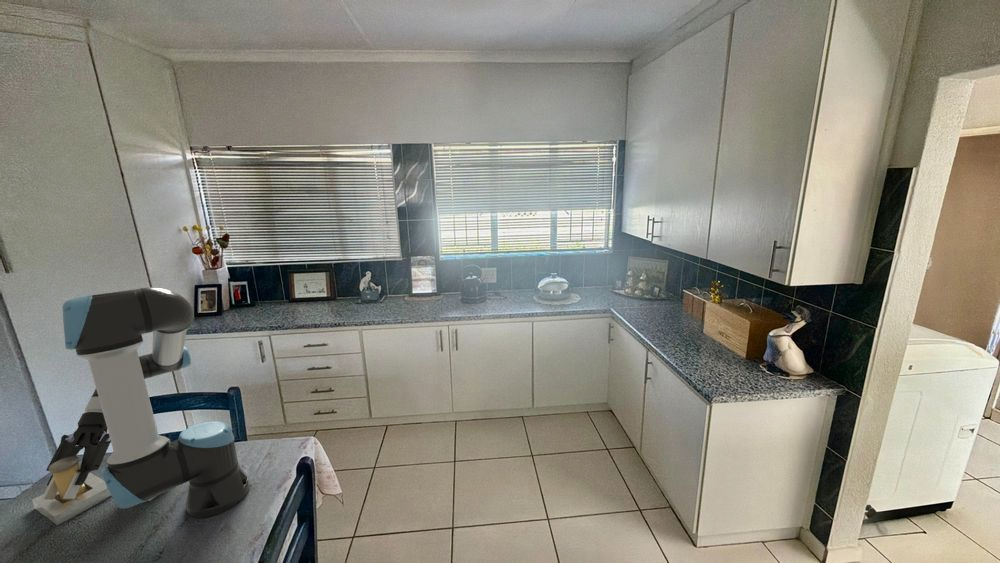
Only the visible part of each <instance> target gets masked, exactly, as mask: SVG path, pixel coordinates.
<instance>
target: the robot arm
mask: <svg viewBox="0 0 1000 563" xmlns="http://www.w3.org/2000/svg"><path fill="white" fill-rule="evenodd" d="M61 308H62V309H61V310H62V320H63V333H64V347H65V350H71V351H72V350H75V352H76V356H78V357H79V358H82V359H85V360H87V361H88V364H89V367H90V370H91V374H92V378H93V382H94V385H95V388H94V391H93V393H92V395H91V397H90V399H89V401H88V403H87V405H85V407H84V413H82V414H81V416H80V418H79V420H78V422H77V426H78V427H77V428H76V430H75V431H74V432H73V433H71V434H68V435H67V434H63V435H62V436H61V437H60V443H59V445H58V447H57V449H56V451H55V453H54V455H53V456H52V458H51V460H50V462H49V463H48V466H47V467H46V471H47V472H49V469H48V468H49V466H50V465H52V464H53V463H55V462H57V461H59V460H61V459H64V458H67V457H72V456H77V455H78V454H79V452H80V451H81V450H83V451H84V452H83V455H82V459H81V462H80V466H79V467H80V470H77V472H80V473H75V475H74V477H73V479H72V481H71V483H70V485H69V487H68V489H67V491H66V493H65V495H64V497H63V499H75V497H76V495H77V493H78V490H79V488H80V486H81V485H83V484H84V482H85V480H86V478H87V476H88V474H89V473H92V472H93V471H97V470H99V469H100V467H101V465H102V462H103V460H104V458H105V456H106V453H107V451H108V449H109V446H110V444H111V446H112V450H113V451H112V453H111V454H110V455H109V456H108V457H107V459H106V463H107V466H104V468H102V469H101V471H100V472H101V473H100V474H101V476H102V480H104V481H105V483H106V485H107V488H108V490H109V492H110V494H111V496H110V497H111V498H112V500H113V502H114V503H115V505H116V506H117V507H118V508H120V509H123V510H124V509H131V508H132V507H134V506H136V505H139V504H142V503H146V502H148V501H147V500H149V499H151V498H153V497H155V496H156V497H158V496H159V495H161V494H163V493H164V494H165V493H166V492H168V491H170V490H173V489H175V488H177V487H179V486H180V485H183V484H185V483H187V482H188V484H189V486H188V489H187V496H186V500H185V507H186V512H187V514H188V515H189V516H190V517H193V518H198V519H199V518H201V519H203V518H209V517H213V516H216V515H219V514H222V513H224V512H226V511H228V510H230V509H232V508H233V507H234V506H236V505H237V504H239V503H240V502H242V500H243V499H244V498H245V497H246V496H247V494H248V492H249V490H250V480H249V477H248V475H247V474H246V473H245V471H244V470H243V469H242V468H241V466H240V465H239V462H238V455H237V449H236V445H235V436H234V434H233V431H232V427H231V426H230V424H228V423H227V422H224V421H221V420H220V421H219V420H210V421H209V420H208V421H203V422H199V423H195V424H193V425H190V426H188V427H186V428H185V429H183V430H182V431H181V432H180V434H179V436H178V439H177V440H173V441H170V442H171V443H169V441H168V439H169V438H168V437H166V436H164V435H160V434H159V431H158V426H157V424H156V419H155V416H154V411H153V408H152V404H151V400H150V395H149V391H148V388H147V384H146V380H145V379H149V378H153V377H157V376H160V375H164V374H168V373H172V372H176V371H179V370H181V369H182V370H183V369H185V368H188V367H189V366H190V365H191V363H192V358H191V355H190V352H189V349H188V348H187V346H185V343H186V337H187V332H188V329H189V328H190V326H192V323H193V320H194V309H193V306H192V304H191V303H190V302H189V300H188V299H186V298H185V297H184V296H182V295H181V294H179V293H177V292H175V291H173V290H170V289H167V288H162V287H152V286H150V287H149V286H148V287H140V288H136V289H135V288H134V289H128V290H121V291H111V292H105V293H99V294H98V293H97V294H89V295H85V296H80V297H73V298H70V299H68V300H66V301H65V302H64V303H63V304H62V306H61ZM149 333H150V334H151V333H152V348H151V349H152V350H151V351H152V352H151V353H148V354H144V355H139V354H138V348H139V347H140V346H141V345H142V344H143V342H144V339H143V335H144V334H149ZM57 492H58V489H57V486H56V483H55V480H54V477H53V474H52V473H51V476H50V478H49V480H48V482H47V483H46V489H45V491H44V493H43V494H44V495H43V494H42V495H43V497H42V500H54V498H55V496H56V494H57ZM157 495H158V496H157ZM156 497H155V498H156Z"/></svg>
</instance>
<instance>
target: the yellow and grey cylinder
mask: <svg viewBox="0 0 1000 563" xmlns="http://www.w3.org/2000/svg"><path fill="white" fill-rule="evenodd" d="M79 462H81V461H80V457H79V456H77V455H76V456H72V457H67V458H64V459H61V460H59V461H57V462H55V463H53V464H52V465H50V466H49V468H48V469H49V471H48V472H49V473H51V475H52V474H53V477H54V480H55V483H56V486H57V489H58V493H59V496H60V499H61V503H62V504H64V503H66V502H68V501H70V500H72V499H63V497H64V495H65V493H66V491H67V489H68V487H69V485H70V483H71V481H72V479H73V477H74V475H75V473H80V472H77V470H80V467H81V466H80V464H79ZM85 492H87V491H86V487H85V484H83V485H81V486H80V488H79V490H78V493H77V495H76V497H77V496H79V495H81V494H83V493H85ZM76 497H75V498H76Z"/></svg>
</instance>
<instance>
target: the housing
mask: <svg viewBox="0 0 1000 563" xmlns="http://www.w3.org/2000/svg"><path fill="white" fill-rule="evenodd" d="M84 484H85V487H86V491H87V492H85V493H83V494H81V495H79V496H77V497H76V498H75V499H72V500H70V501H68V502H66V503H64V504H62V502H61V499H60V496H59V493H58V492H57V494H56V496H55V498H54V500H42V497H43V495H44V493H42V494H41V495H39V496H37V497H35V498H33V499H31V502H32V504H33V507H34V510H36V511H37V510H38V511H37V512H38V513H40V514H41V515H42V516H44V517H46V519H48V520H50V521H51V522H52V523H53V524H55V525H56V526H58V525H59V526H60V525H61V524H63V523H65V522H66V521H68V520H70V519H72V518H74V517H76V516H78V515H79V514H81V513H83V512H85V511H86V510H88V509H90V508H93V507H94V506H95V505H97V504H100V503H101V502H103V501H105V500H107V499H108V498H111V497H112V496H111V494H110V492H109V490H108V488H107V485H106V483H105V481H104V479H103V478H101V477H98V476H97V475H95V474H93V473H92V472H90V473H89V474H88V476H87V478H86V480H85V482H84Z"/></svg>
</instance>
